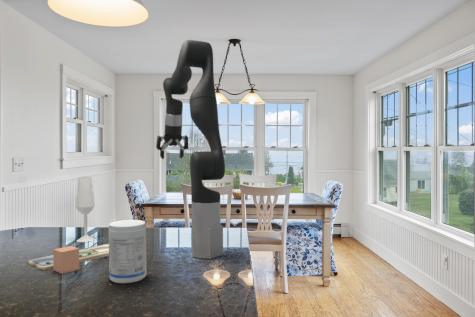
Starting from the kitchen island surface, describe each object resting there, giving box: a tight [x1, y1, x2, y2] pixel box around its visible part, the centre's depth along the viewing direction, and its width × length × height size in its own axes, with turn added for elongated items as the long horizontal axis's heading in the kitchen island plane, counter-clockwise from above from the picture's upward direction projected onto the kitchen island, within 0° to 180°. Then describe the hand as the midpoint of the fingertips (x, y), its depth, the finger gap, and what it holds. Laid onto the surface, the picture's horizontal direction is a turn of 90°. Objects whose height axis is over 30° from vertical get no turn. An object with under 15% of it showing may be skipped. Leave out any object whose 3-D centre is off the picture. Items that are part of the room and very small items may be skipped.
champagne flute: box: [75, 176, 96, 243], centre depth 144 cm, size 7×7×24 cm
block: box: [52, 245, 80, 275], centre depth 108 cm, size 5×5×6 cm
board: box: [26, 243, 109, 272], centre depth 121 cm, size 12×27×1 cm, turn 139°
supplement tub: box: [108, 219, 147, 284], centre depth 100 cm, size 10×10×15 cm
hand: (171, 158), depth 174 cm, fingers open, 8 cm apart
